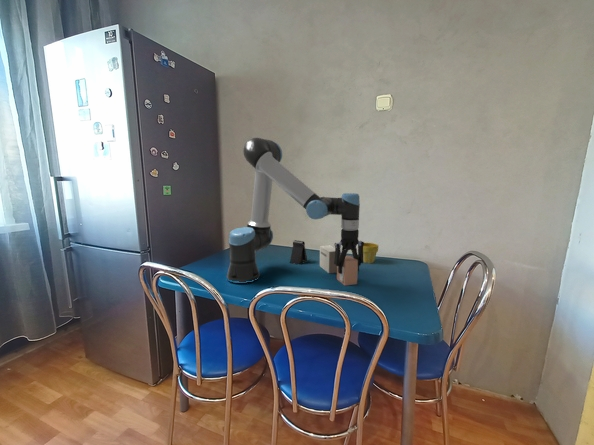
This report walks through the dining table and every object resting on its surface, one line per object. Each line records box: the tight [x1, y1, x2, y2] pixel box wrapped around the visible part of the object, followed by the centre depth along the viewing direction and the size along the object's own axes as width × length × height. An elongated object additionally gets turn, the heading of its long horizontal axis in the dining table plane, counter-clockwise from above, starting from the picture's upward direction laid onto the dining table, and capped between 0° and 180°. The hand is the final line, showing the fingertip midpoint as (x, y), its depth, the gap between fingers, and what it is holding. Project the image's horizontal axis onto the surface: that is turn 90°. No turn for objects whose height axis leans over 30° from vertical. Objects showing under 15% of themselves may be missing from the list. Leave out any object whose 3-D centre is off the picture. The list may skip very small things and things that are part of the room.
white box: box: [319, 244, 342, 274], centre depth 145 cm, size 6×12×11 cm, turn 18°
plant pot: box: [363, 242, 379, 264], centre depth 158 cm, size 10×10×10 cm
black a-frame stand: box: [289, 239, 308, 265], centre depth 158 cm, size 9×6×12 cm, turn 147°
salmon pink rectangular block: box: [336, 254, 358, 286], centre depth 128 cm, size 6×8×11 cm
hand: (348, 279), depth 127 cm, fingers closed on salmon pink rectangular block, 6 cm apart
